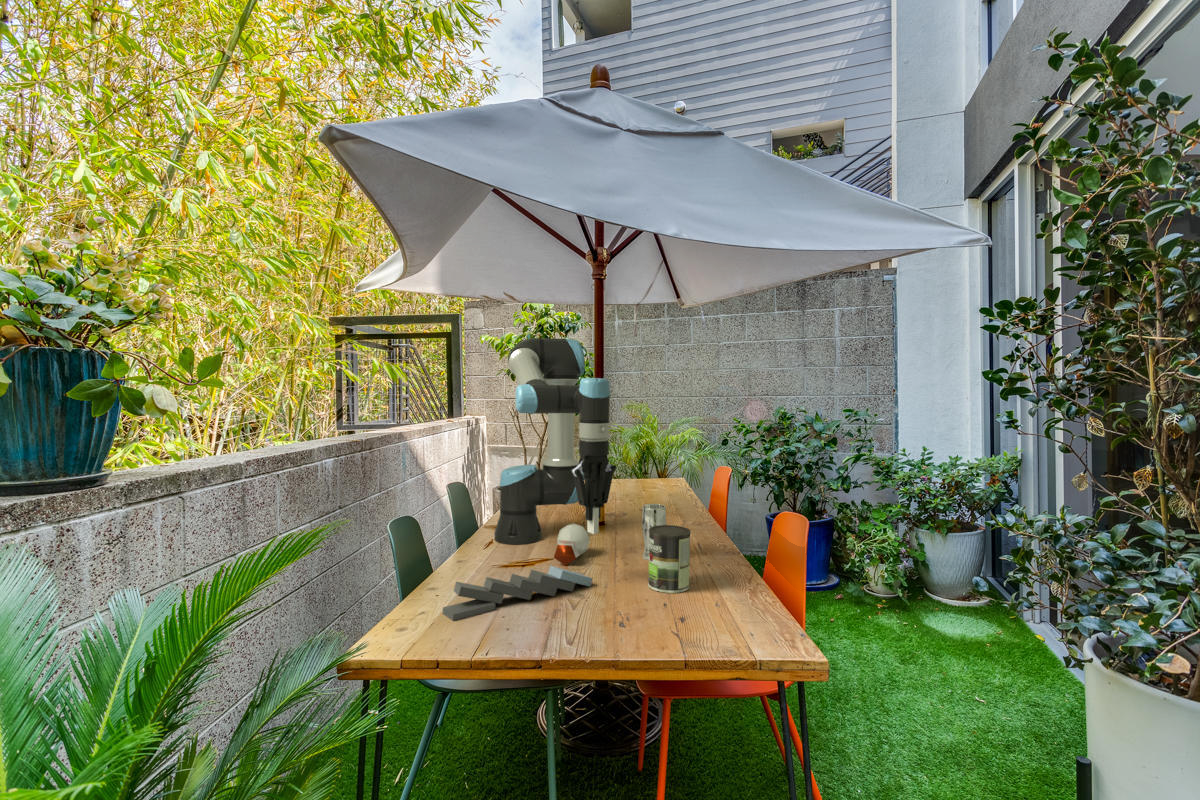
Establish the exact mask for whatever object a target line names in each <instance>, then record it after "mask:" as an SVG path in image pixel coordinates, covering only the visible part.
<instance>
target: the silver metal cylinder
mask: <svg viewBox="0 0 1200 800" xmlns="http://www.w3.org/2000/svg"><path fill="white" fill-rule="evenodd" d="M666 510H667V509H666V505H664V504H661V503H660V504H659V503H647V504H643V505H642V514H641V527H642V528H641V529H642V534H643V541H644V550H643V555H642V558H643V559H644V560H646V561H649V528H651V527H654V526H659V525H667V511H666Z"/></svg>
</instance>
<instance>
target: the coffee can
mask: <svg viewBox="0 0 1200 800" xmlns="http://www.w3.org/2000/svg"><path fill="white" fill-rule="evenodd" d="M691 533H692V531H691V530H690V529H689V528H687V527H684V526H680V525H674V524H673V525H671V524H666V525H659V526H654V527H651V528H649V560H648V583H647V586H648V588H649V589H650V588H651V589H650V590H653V591H654V590H655V592H657V591H659V592H658V593H662V592H663V593H662V594H680V592H681V593H684V591H685V592H686V591H688V590H690V557H691V556H690V555H691V554H690V552H691V549H690V548H691Z"/></svg>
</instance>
